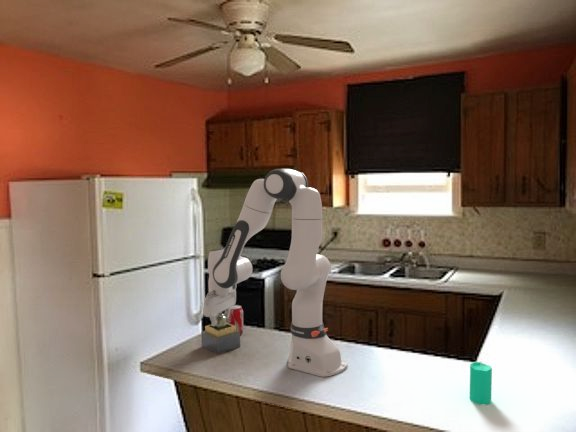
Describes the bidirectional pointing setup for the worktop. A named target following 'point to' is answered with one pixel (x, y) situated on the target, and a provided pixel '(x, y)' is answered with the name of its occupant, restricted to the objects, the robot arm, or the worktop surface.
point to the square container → (220, 338)
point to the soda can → (236, 317)
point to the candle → (480, 383)
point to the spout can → (220, 321)
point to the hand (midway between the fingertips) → (220, 322)
